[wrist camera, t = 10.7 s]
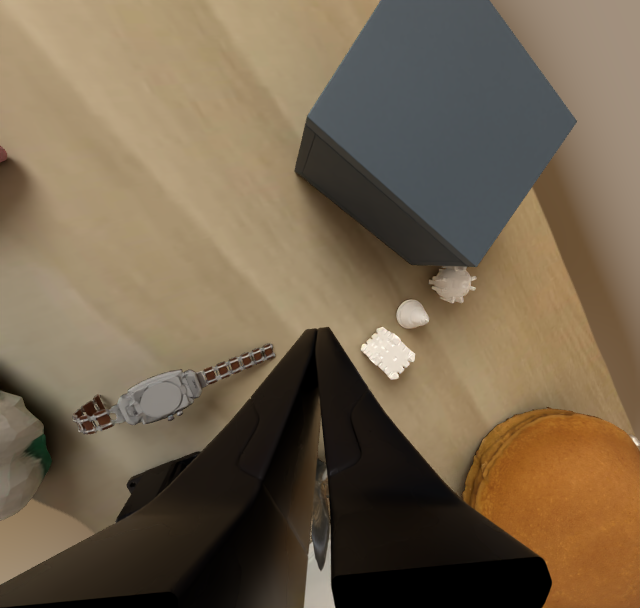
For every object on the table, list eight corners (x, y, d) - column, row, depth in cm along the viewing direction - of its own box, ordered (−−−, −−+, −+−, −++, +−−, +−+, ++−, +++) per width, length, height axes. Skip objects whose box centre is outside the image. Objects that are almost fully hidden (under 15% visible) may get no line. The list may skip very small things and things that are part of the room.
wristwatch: (81, 386, 19) (46, 419, 14) (257, 324, 25) (271, 334, 20) (101, 424, 19) (73, 467, 15) (267, 355, 25) (282, 371, 21)
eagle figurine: (248, 476, 22) (299, 551, 22) (279, 509, 16) (346, 608, 17) (305, 415, 26) (346, 479, 27) (345, 424, 21) (395, 505, 21)
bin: (366, 58, 18) (416, -51, 12) (475, 172, 22) (559, 135, 15) (294, 170, 19) (304, 124, 12) (411, 265, 22) (467, 267, 16)
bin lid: (423, -61, 12) (431, -81, 11) (564, 127, 15) (577, 121, 15) (304, 124, 12) (306, 116, 12) (468, 267, 16) (476, 267, 15)
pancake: (534, 638, 26) (585, 716, 20) (426, 469, 28) (447, 500, 23) (685, 534, 26) (773, 583, 21) (566, 378, 29) (617, 387, 24)
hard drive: (348, 523, 25) (262, 608, 24) (394, 555, 27) (315, 634, 26) (343, 507, 26) (263, 586, 26) (387, 538, 28) (313, 612, 28)
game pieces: (379, 366, 24) (394, 383, 21) (357, 346, 23) (370, 360, 20) (460, 280, 24) (488, 284, 21) (441, 257, 23) (468, 257, 20)
